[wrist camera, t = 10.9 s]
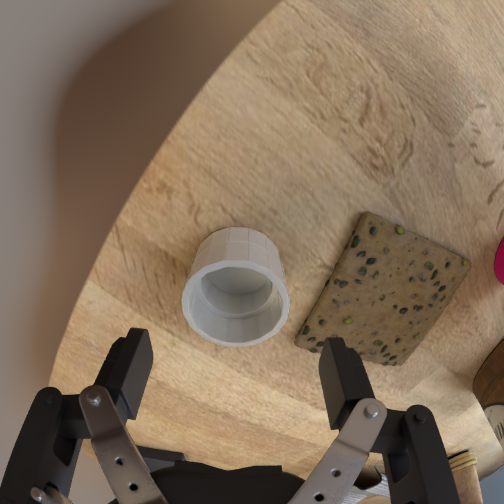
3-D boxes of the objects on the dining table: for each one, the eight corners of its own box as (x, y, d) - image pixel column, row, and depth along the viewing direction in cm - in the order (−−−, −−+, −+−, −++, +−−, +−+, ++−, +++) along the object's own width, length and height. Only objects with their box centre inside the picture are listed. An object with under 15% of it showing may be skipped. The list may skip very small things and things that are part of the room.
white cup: (197, 297, 22) (185, 344, 17) (194, 222, 19) (177, 257, 15) (277, 300, 22) (283, 348, 17) (285, 225, 19) (295, 262, 15)
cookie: (400, 364, 25) (403, 370, 24) (291, 342, 23) (292, 350, 23) (471, 261, 20) (477, 267, 20) (363, 208, 18) (368, 212, 18)
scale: (126, 471, 39) (123, 487, 36) (101, 437, 33) (95, 456, 30) (193, 483, 39) (192, 499, 36) (183, 453, 33) (180, 474, 30)
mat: (262, 496, 43) (263, 516, 39) (377, 460, 37) (383, 482, 33) (316, 510, 51) (318, 525, 47) (406, 478, 45) (410, 494, 41)
